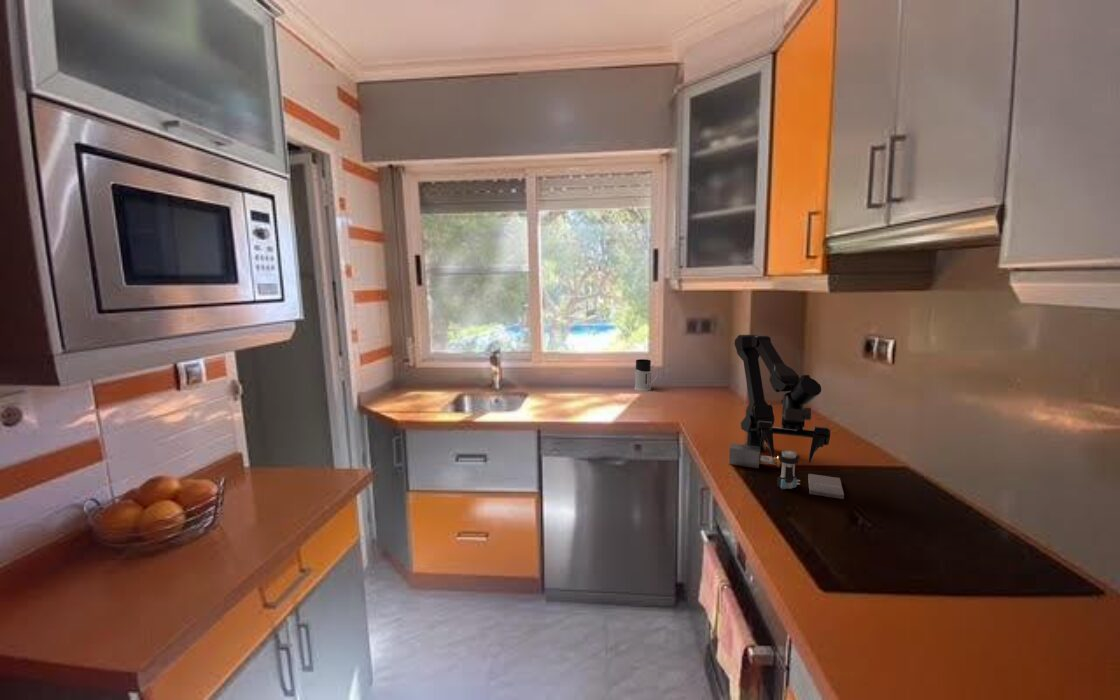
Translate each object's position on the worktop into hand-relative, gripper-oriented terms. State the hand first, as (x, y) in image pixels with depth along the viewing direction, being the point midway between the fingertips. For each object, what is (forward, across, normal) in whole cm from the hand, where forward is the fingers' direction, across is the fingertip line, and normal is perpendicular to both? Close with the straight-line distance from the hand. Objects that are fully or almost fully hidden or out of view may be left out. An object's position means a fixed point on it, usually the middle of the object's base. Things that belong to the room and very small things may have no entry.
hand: (791, 459), depth 139 cm
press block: (-4, -13, +15) cm, 20 cm away
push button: (+6, 0, +6) cm, 8 cm away
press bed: (+3, +9, +8) cm, 12 cm away
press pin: (-5, -7, +15) cm, 17 cm away
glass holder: (-67, -66, +78) cm, 122 cm away
